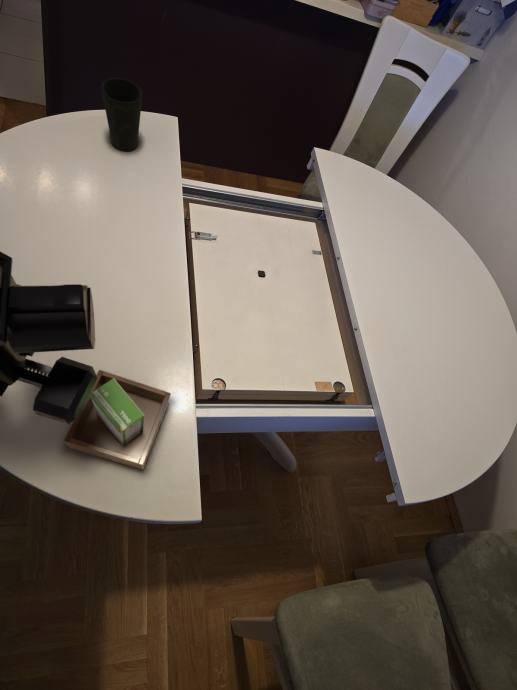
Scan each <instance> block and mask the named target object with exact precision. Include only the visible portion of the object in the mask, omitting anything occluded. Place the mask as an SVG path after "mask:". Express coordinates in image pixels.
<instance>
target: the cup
mask: <svg viewBox="0 0 517 690" xmlns="http://www.w3.org/2000/svg"><path fill="white" fill-rule="evenodd" d="M100 89H101V94H102V99H103V104H104V110H105V115H106V120H107V124H108V125H107V126H108V131H109V136H110V142H111V145H112V146H113V148H114V149H116V150H117V151H120V152H123V153H130V152H134V151H136V150H137V148H138V145H139V144H138V143H139V133H140V123H141V113H142V112H141V111H142V102H143V101H142V100H143V91H142V89H141V87H140V86H139V85H138V84H137V83H136V82H134V81H132V80H131V79H128V78H123V77H110V78H107V79H105V80H104V81H103V82H102V83H101V87H100Z"/></svg>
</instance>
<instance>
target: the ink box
mask: <svg viewBox="0 0 517 690" xmlns="http://www.w3.org/2000/svg"><path fill="white" fill-rule="evenodd" d="M90 396H91V399H92V401H93V404H94V407H95V409H96V413H97V415H98V416H99V417H100V418H101V420H102V421H103V422H104V424H105V425H106V426H107V427H108V429H109V430H110V431H111V432H112V434H113V435H114V436H115V437H116V438H117V440H118V441H119V442H120V443H121V445H122V446H125V445H126V444H127V443H129V442H130V441H131V440H132V439H134V438H135V437H136V436H137V435H139V434H140V433H141V432H143V428H144V414H143V413H142V411H141V410H140V409H139V408H138V407H137V405H136V404H135V403H134V402H133V401H132V399H131V398H130V397H129V396H128V395H127V393H126V392H125V391H124V390H123V389H122V387H121V386H120V385H119V384H118V383H117V381H116V380H115V379H114V378H113V379H112V380H110V381H109V382H107V383H106V384H104V385H102V386H101V387H99V388H98V389H96V390H95V391H93V392H92V391H91V392H90Z"/></svg>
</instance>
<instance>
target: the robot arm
mask: <svg viewBox="0 0 517 690" xmlns="http://www.w3.org/2000/svg"><path fill="white" fill-rule="evenodd" d="M12 271H13V258H12V257H11V256H10V255H8V254H6V253H4V252H2V251H0V397H3V396H4V394H5V392H6V391H7V389H8V388H9V387H10V386H12V385H14V384H15V383H17V381H18V382H22V383H24V384H28V385H31V386H34V387H38V388H40V389H39V391H38V393H37V394H36V396H35V398H34V401H33V406H32V409H31V410H32V411H33V412H34V413H35V415H37V416H40V417H43V418H47V419H50V420H53V421H56V422H60V423H63V424H66V425H71V424H73V422H75V421H76V420H77V418H78V416H79V414H80V412H81V410H82V408H83V406H84V404H85V402H86V400H87V398H88V396H89V394H90V392H91V390H92V388H93V386H94V384H95V382H96V380H97V376H96V375H97V373H96V371H95V369H94V367H93V366H92V365H89V364H86V363H83V362H80V361H76V360H74V359H71V358H68V357H64V356H61V357H59V358H58V359H56V361H55V362H54V364H53V366H50V365H46V364H44V363H41V362H38V361H34V360H31V359H29V358H27V357H33V356H34V354H35V353H47V352H48V353H49V352H66V351H80V350H82V351H83V350H84V351H85V350H94V349H95V348H96V347H95V346H96V323H95V321H96V320H95V310H94V300H93V294H92V289H91V288H92V287H89V286H88V285H87V284H80V283H79V284H77V283H76V284H74V283H73V284H72V283H71V284H58V285H56V284H55V285H53V284H52V285H51V284H49V285H22V284H18V283H17V282H16V280H15V279H14V277H13V275H12Z"/></svg>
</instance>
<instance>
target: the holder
mask: <svg viewBox="0 0 517 690" xmlns="http://www.w3.org/2000/svg"><path fill="white" fill-rule="evenodd" d="M96 376H97V380H96V382H95V384H94V386H93V388H92V390H91V391H92V392H93V391H95V390H96V389H98V388H99V387H101V386H102V385H104V384H106V383H107V382H109V381H110V380H112V379H113V378H114V379H115V380H116V381H117V383H118V384H119V385H120V386H121V387H122V389H123V390H124V391H125V392H126V393H127V395H128V396H129V397H130V398H131V399H132V401H133V402H134V403H135V404H136V405H137V407H138V408H139V409H140V410H141V411H142V413H143V414H144V428H143V432H141V433H140V434H139V435H137V436H136V437H135V438H134V439H132V440H131V441H130V442H129V443H127V444H126V445H125V446H122V445H121V443H120V442H119V441H118V440H117V438H116V437H115V436H114V435H113V434H112V432H111V431H110V430H109V429H108V427H107V426H106V425H105V424H104V422H103V421H102V420H101V418H100V417H99V416H98V415H97V413H96V409H95V407H94V404H93V401H92V399H91V396H90V394H89V396H88V398H87V400H86V402H85V404H84V406H83V408H82V410H81V412H80V414H79V416H78V418H77V420H76V421H75V422H73V423H71V425H70V428H69V429H68V432H67V434H66V435H65V438H64V440H63V442H64V444H66V445H67V447H68V448H69V449H71V450H72V449H73V450H76V451H79V452H82V453H86V454H89V455H92V456H95V457H99V458H102V459H106V460H109V461H112V462H114V463H119V464H122V465H124V466H125V465H126V466H128V467H132V468H135V469H138V470H141V471H144V468H145V466H146V464H147V460H148V458H149V457H150V456H149V455H150V453H151V450H152V447H153V445H154V443H155V440H156V437H157V435H158V433H159V430H160V426H161V424H162V422H163V419H164V416H165V413H166V411H167V408H168V406H169V403H170V400H171V399H170V398H171V392H168V391H165V390H162V389H159V388H156V387H153V386H150V385H147V384H144V383H141V382H138V381H135V380H132V379H129V378H126V377H122V376H119V375H117V374H113V373H111V372H108V371H104V370H102V369H98V371H97V373H96Z"/></svg>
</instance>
